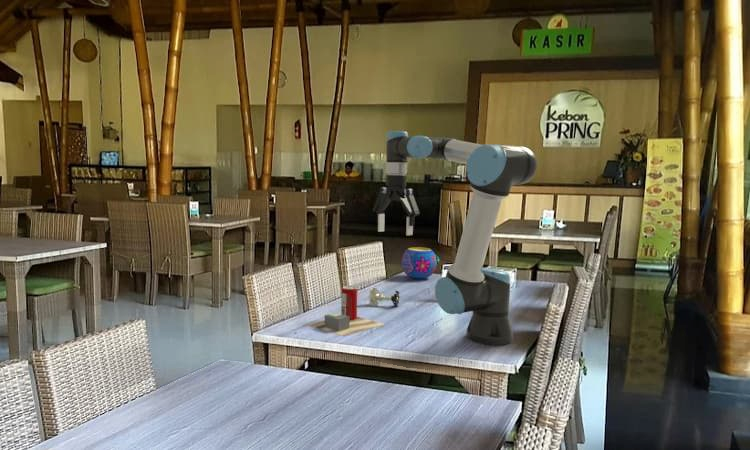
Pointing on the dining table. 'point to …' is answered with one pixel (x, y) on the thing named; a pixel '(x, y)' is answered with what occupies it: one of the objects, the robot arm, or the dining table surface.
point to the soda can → (349, 302)
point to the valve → (382, 297)
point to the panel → (350, 326)
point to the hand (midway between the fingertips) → (395, 233)
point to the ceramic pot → (419, 262)
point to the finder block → (337, 321)
